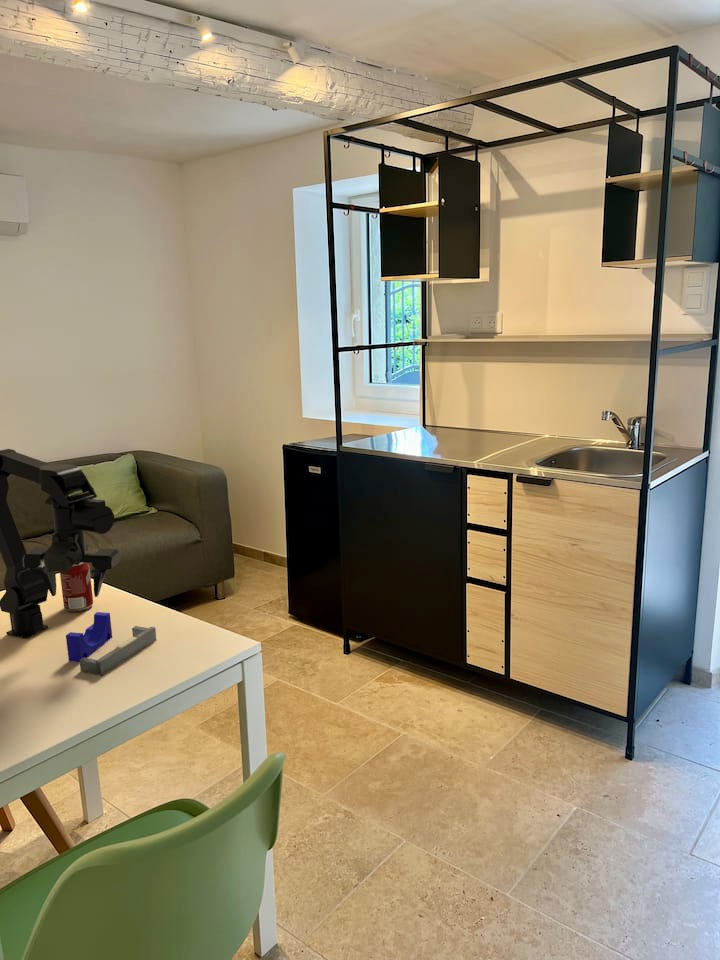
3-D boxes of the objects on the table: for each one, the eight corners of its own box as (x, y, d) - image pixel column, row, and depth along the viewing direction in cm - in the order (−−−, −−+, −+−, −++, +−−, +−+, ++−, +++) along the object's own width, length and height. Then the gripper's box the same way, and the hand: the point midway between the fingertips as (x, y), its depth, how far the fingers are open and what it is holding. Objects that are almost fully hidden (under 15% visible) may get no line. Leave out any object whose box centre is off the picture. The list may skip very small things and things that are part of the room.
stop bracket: (80, 671, 147) (78, 656, 147) (136, 636, 163) (135, 622, 162) (101, 675, 145) (100, 660, 144) (156, 640, 161) (155, 626, 160)
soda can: (87, 613, 176) (82, 565, 173) (59, 613, 176) (54, 566, 173) (97, 602, 183) (92, 556, 180) (70, 602, 183) (65, 557, 180)
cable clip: (94, 636, 164) (91, 611, 162) (112, 638, 163) (109, 612, 161) (62, 661, 152) (59, 634, 151) (81, 663, 151) (78, 636, 150)
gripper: (5, 537, 145) (13, 610, 149) (98, 539, 144) (104, 612, 148) (31, 521, 156) (38, 589, 159) (118, 522, 155) (123, 591, 159)
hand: (75, 595), depth 156 cm, fingers open, 9 cm apart
